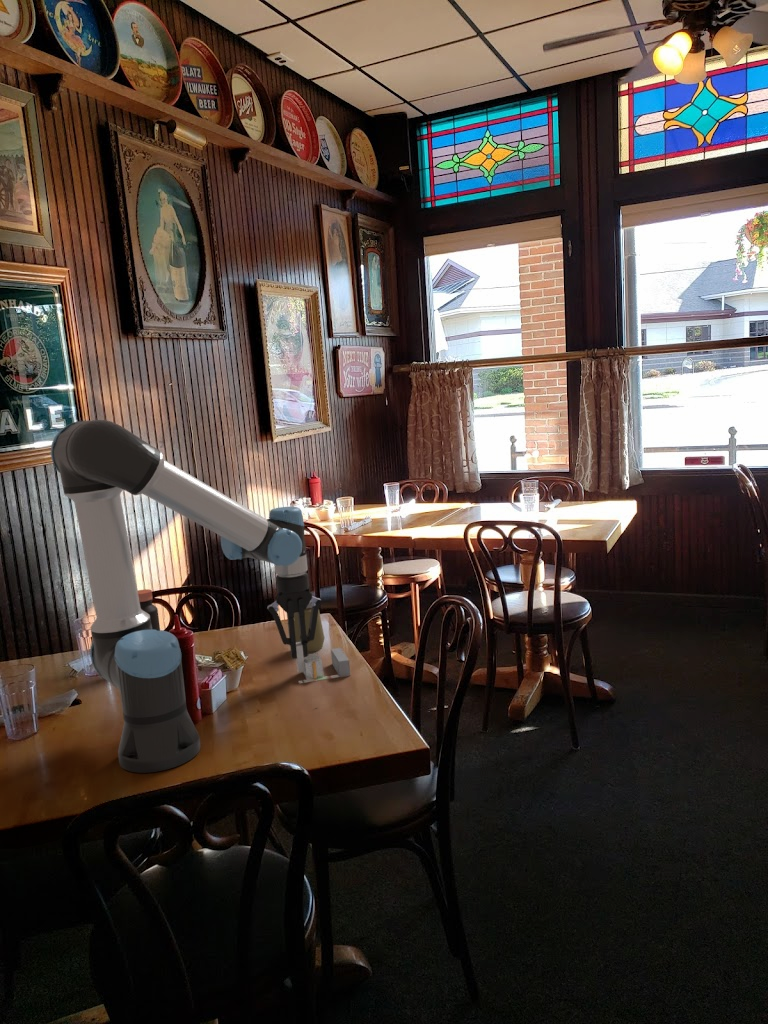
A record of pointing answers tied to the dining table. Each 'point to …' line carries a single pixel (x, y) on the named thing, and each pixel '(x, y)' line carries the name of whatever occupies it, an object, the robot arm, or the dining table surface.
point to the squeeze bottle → (319, 634)
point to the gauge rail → (336, 665)
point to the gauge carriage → (313, 666)
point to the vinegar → (149, 607)
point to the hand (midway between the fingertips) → (300, 670)
